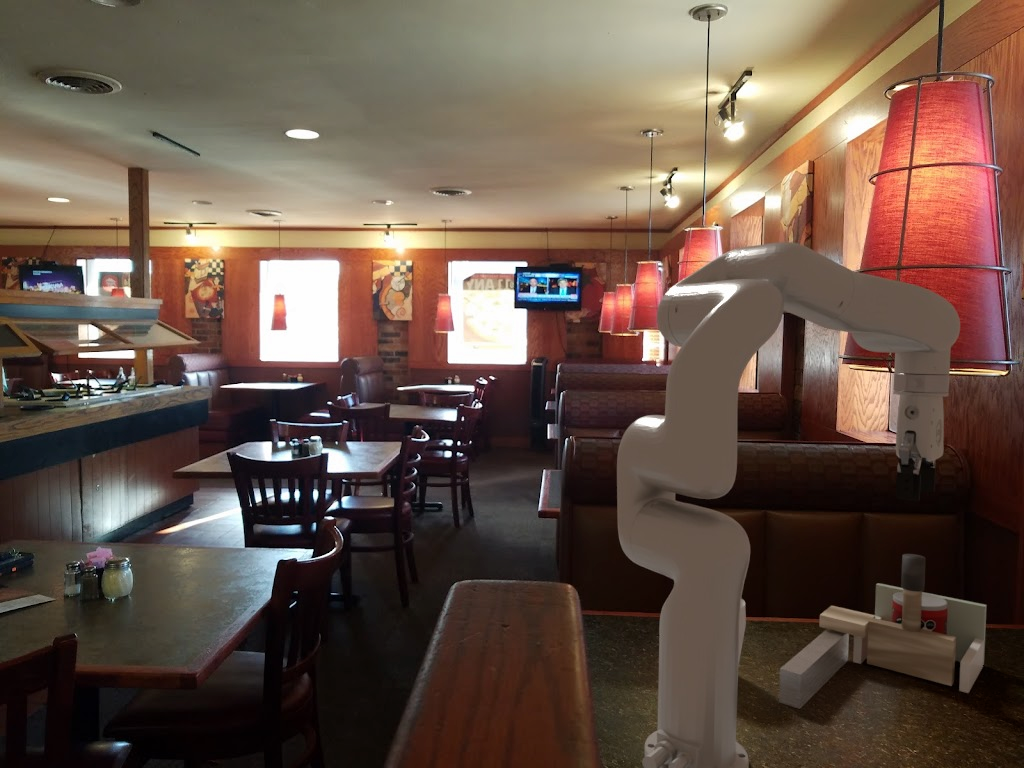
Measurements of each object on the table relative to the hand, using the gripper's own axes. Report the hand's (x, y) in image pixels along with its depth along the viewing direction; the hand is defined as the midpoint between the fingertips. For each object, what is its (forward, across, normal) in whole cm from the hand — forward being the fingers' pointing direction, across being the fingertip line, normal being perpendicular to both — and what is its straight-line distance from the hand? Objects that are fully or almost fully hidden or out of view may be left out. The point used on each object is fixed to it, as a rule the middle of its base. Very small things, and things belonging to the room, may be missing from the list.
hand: (915, 495), depth 116 cm
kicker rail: (+29, -11, +10) cm, 33 cm away
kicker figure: (+28, 0, +3) cm, 28 cm away
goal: (+29, +6, 0) cm, 29 cm away
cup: (+29, -20, +23) cm, 42 cm away
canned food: (+29, +6, 0) cm, 29 cm away
